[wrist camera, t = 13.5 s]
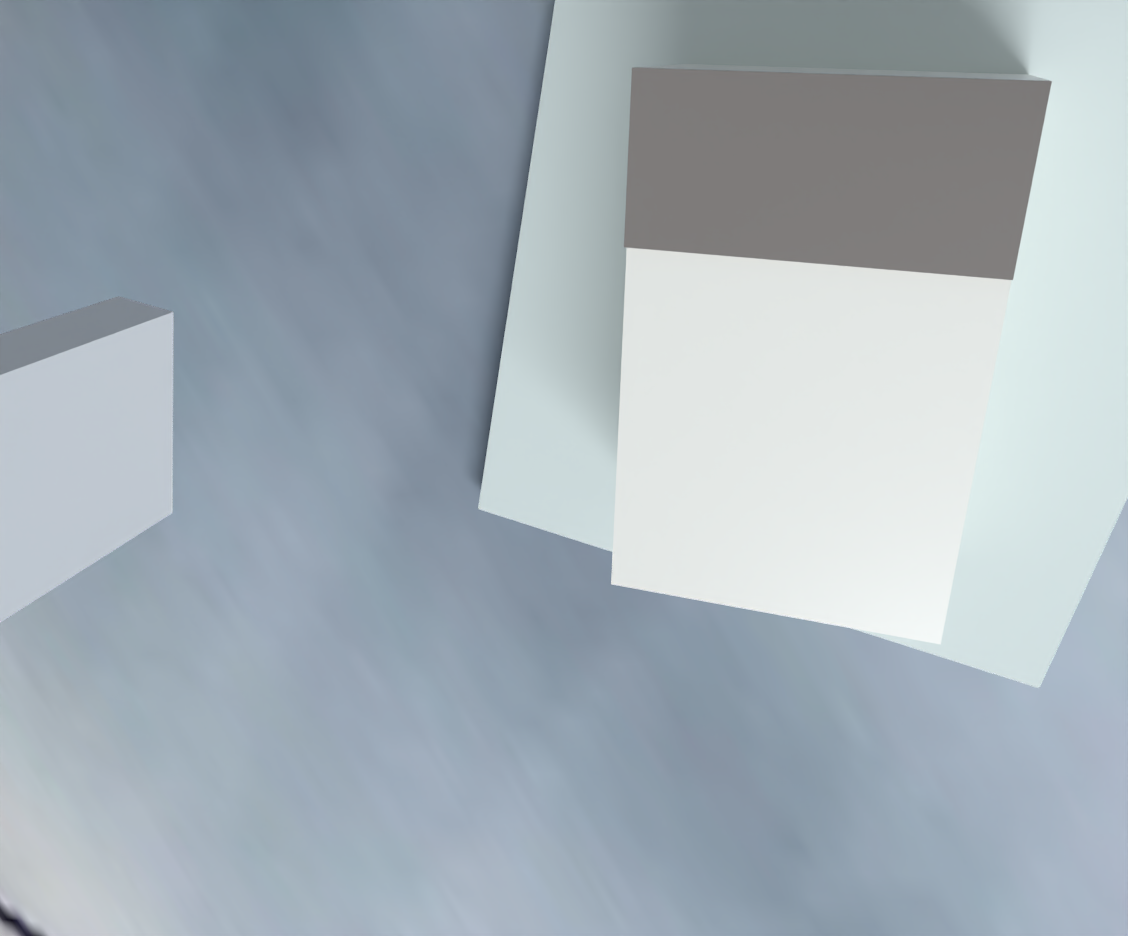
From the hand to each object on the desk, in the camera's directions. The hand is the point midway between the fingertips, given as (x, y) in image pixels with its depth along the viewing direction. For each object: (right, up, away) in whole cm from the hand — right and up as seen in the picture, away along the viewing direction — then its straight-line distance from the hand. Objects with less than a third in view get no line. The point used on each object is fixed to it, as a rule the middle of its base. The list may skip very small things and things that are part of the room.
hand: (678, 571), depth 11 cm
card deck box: (+4, +4, +11) cm, 12 cm away
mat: (+4, +4, +11) cm, 13 cm away
